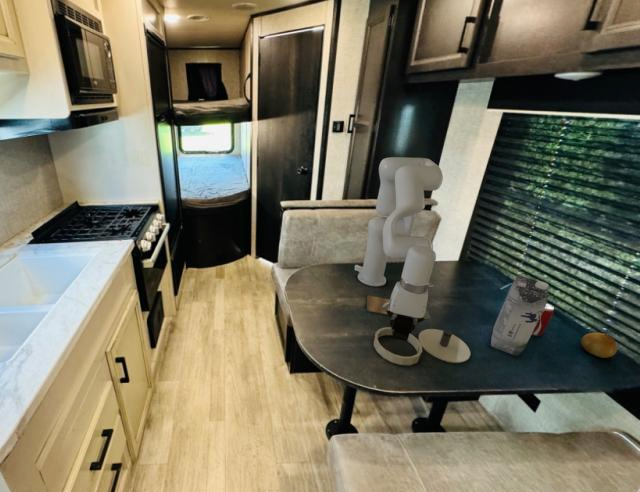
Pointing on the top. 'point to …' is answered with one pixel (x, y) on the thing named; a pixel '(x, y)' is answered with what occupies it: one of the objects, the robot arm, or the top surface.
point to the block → (402, 327)
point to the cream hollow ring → (393, 357)
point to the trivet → (376, 304)
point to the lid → (444, 345)
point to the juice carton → (519, 315)
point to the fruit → (599, 344)
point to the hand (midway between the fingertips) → (400, 328)
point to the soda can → (543, 320)
